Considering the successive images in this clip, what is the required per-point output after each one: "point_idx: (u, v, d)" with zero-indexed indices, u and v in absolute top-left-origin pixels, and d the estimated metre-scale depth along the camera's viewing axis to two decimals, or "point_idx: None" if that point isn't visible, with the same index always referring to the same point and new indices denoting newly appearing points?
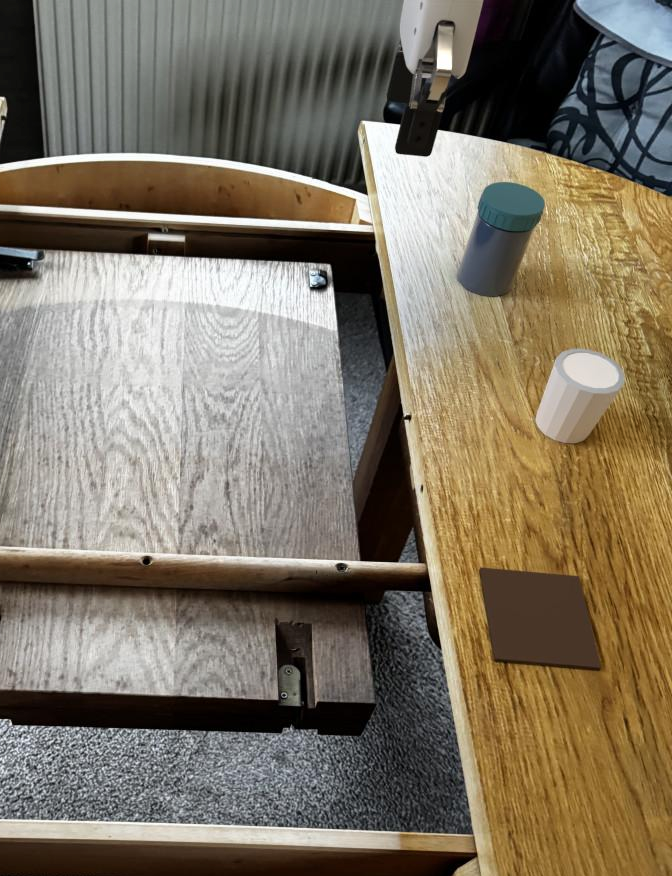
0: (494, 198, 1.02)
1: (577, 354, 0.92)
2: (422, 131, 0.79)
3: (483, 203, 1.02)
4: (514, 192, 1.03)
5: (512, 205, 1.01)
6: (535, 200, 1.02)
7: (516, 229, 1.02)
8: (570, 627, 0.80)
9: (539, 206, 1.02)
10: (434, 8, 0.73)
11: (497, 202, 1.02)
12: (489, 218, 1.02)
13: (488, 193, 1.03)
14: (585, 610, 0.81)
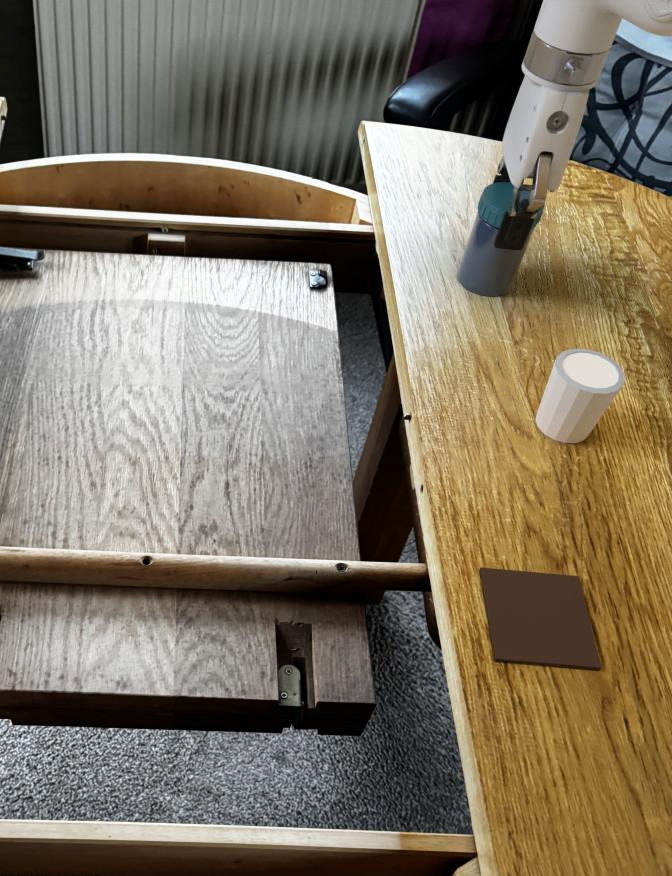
0: (494, 198, 1.02)
1: (577, 354, 0.92)
2: (517, 232, 1.01)
3: (483, 203, 1.02)
4: None
5: None
6: None
7: None
8: (570, 627, 0.80)
9: None
10: (538, 142, 0.93)
11: (497, 202, 1.02)
12: (489, 218, 1.02)
13: (488, 193, 1.03)
14: (585, 610, 0.81)
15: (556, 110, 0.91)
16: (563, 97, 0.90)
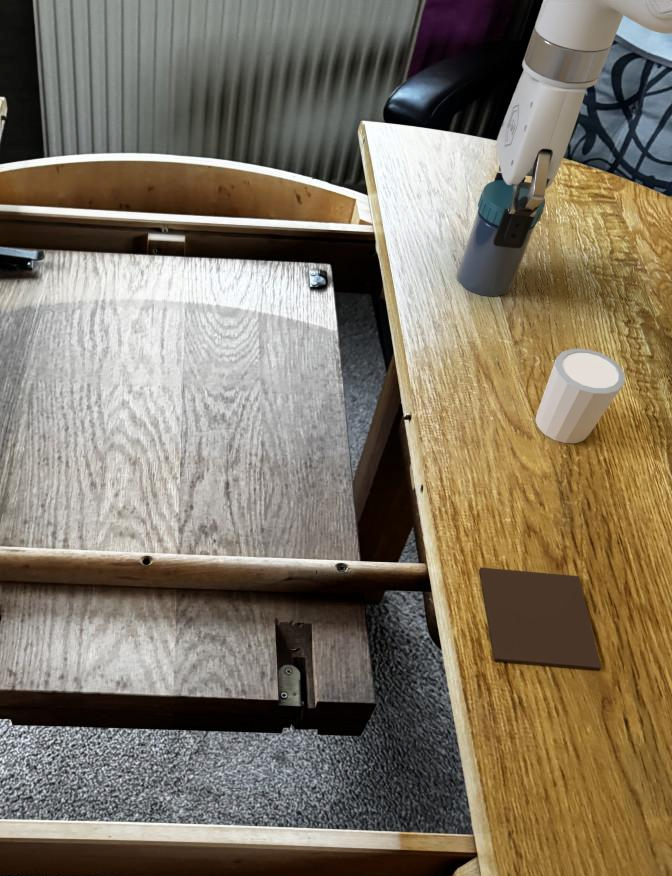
0: None
1: (577, 354, 0.92)
2: None
3: None
4: None
5: None
6: (492, 193, 1.02)
7: None
8: (570, 627, 0.80)
9: (489, 187, 1.03)
10: None
11: None
12: None
13: None
14: (585, 610, 0.81)
15: None
16: None
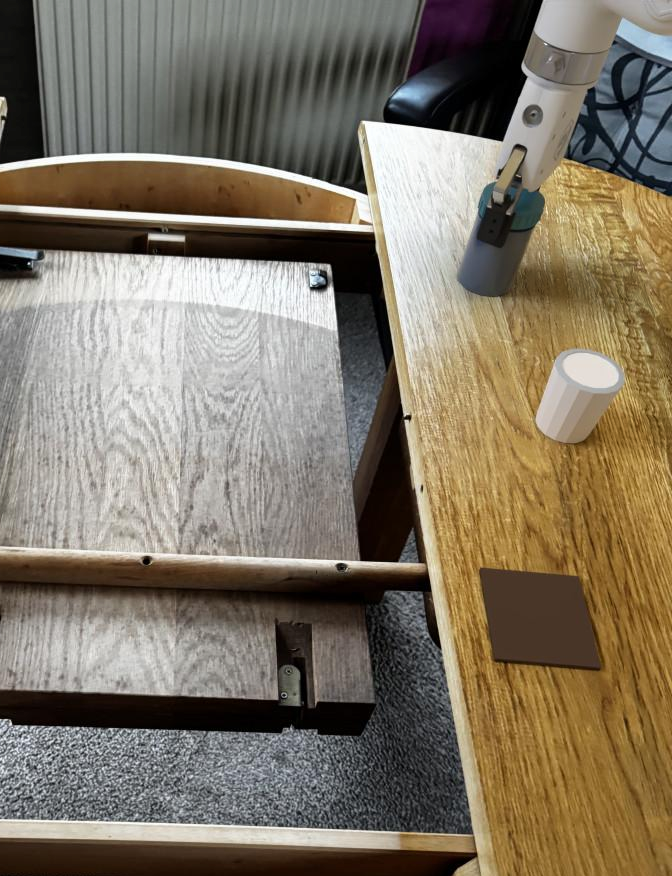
0: None
1: (577, 354, 0.92)
2: (494, 227, 1.01)
3: (482, 194, 1.03)
4: None
5: None
6: (534, 203, 1.02)
7: None
8: (570, 627, 0.80)
9: (532, 209, 1.01)
10: (513, 133, 0.93)
11: None
12: (480, 208, 1.03)
13: (492, 186, 1.03)
14: (585, 610, 0.81)
15: (532, 103, 0.91)
16: (539, 91, 0.90)
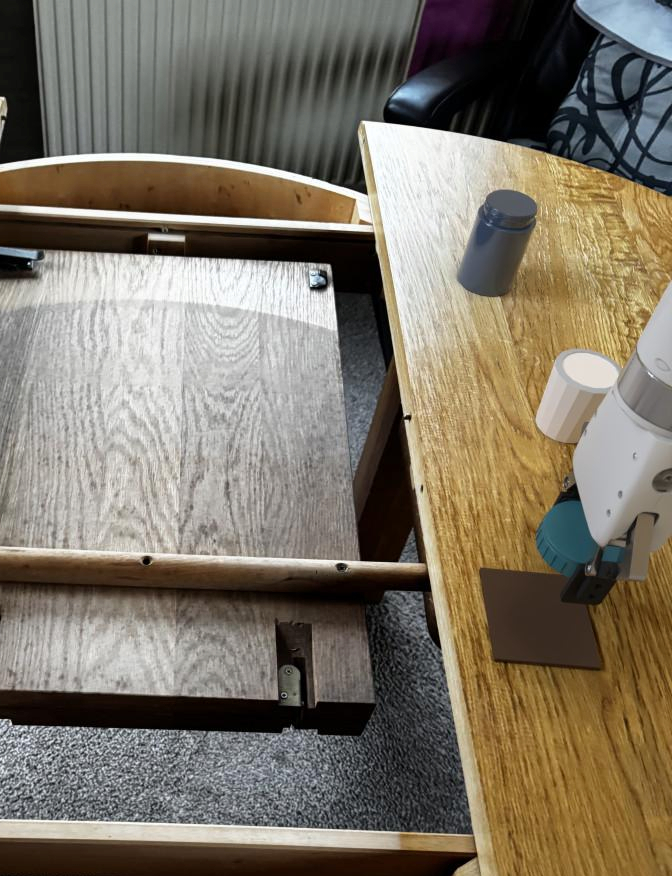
0: (560, 534, 0.71)
1: (577, 354, 0.92)
2: (596, 591, 0.70)
3: (544, 540, 0.72)
4: None
5: (587, 547, 0.71)
6: None
7: None
8: (570, 627, 0.80)
9: None
10: (637, 502, 0.62)
11: (565, 542, 0.71)
12: (553, 563, 0.71)
13: (551, 525, 0.72)
14: (585, 610, 0.81)
15: (669, 466, 0.60)
16: None
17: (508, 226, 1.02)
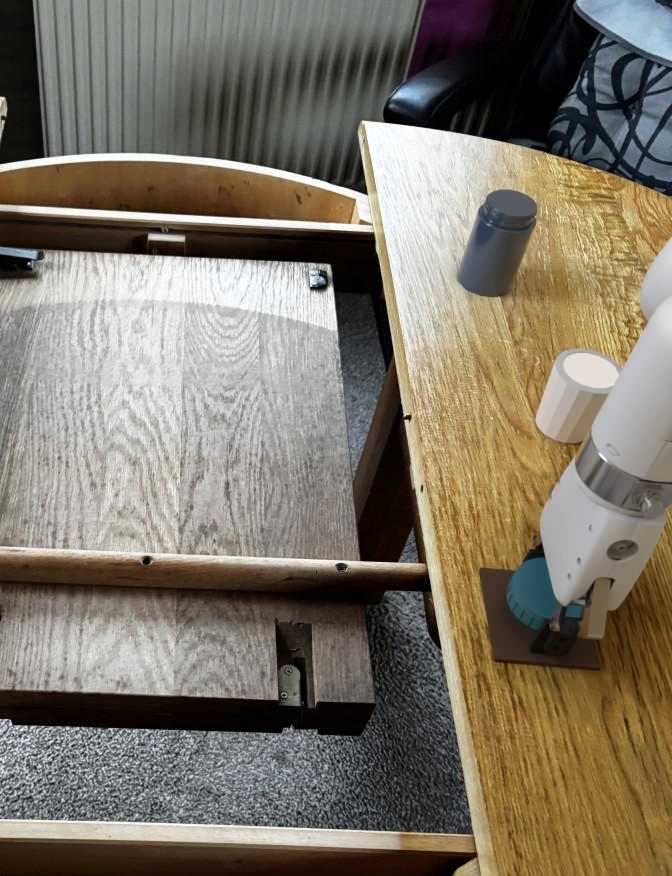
0: (528, 590, 0.77)
1: (577, 354, 0.92)
2: (561, 644, 0.76)
3: (514, 596, 0.77)
4: None
5: (553, 603, 0.76)
6: None
7: None
8: None
9: None
10: (594, 568, 0.68)
11: (532, 598, 0.77)
12: (522, 617, 0.77)
13: (520, 581, 0.78)
14: None
15: (621, 538, 0.65)
16: (632, 526, 0.65)
17: (508, 226, 1.02)
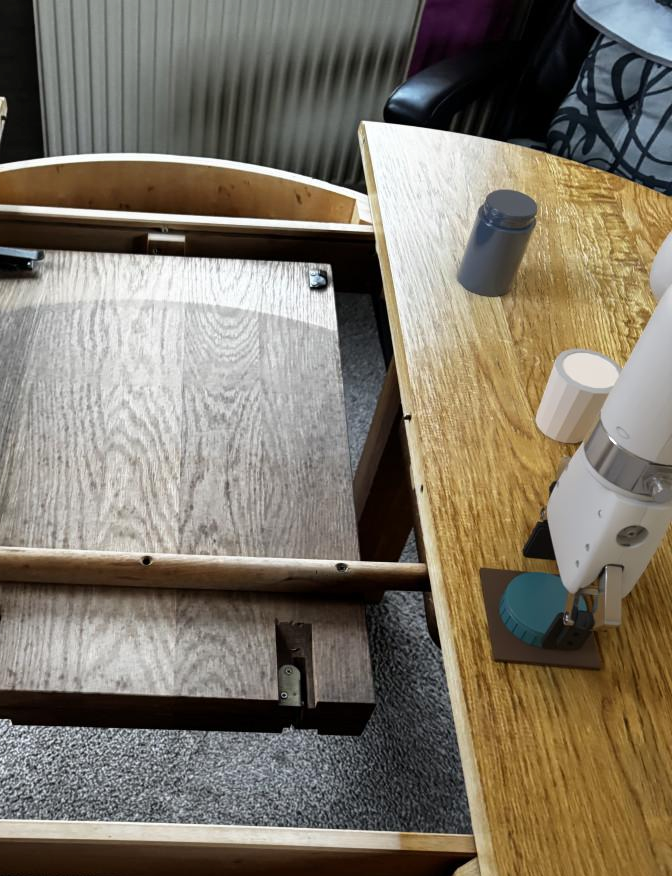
0: (521, 604, 0.78)
1: (577, 354, 0.92)
2: (575, 639, 0.73)
3: (507, 609, 0.79)
4: (547, 591, 0.80)
5: (545, 617, 0.78)
6: None
7: None
8: None
9: None
10: (603, 555, 0.67)
11: (525, 612, 0.78)
12: (515, 630, 0.78)
13: (513, 595, 0.79)
14: None
15: (631, 524, 0.64)
16: (642, 511, 0.63)
17: (508, 226, 1.02)
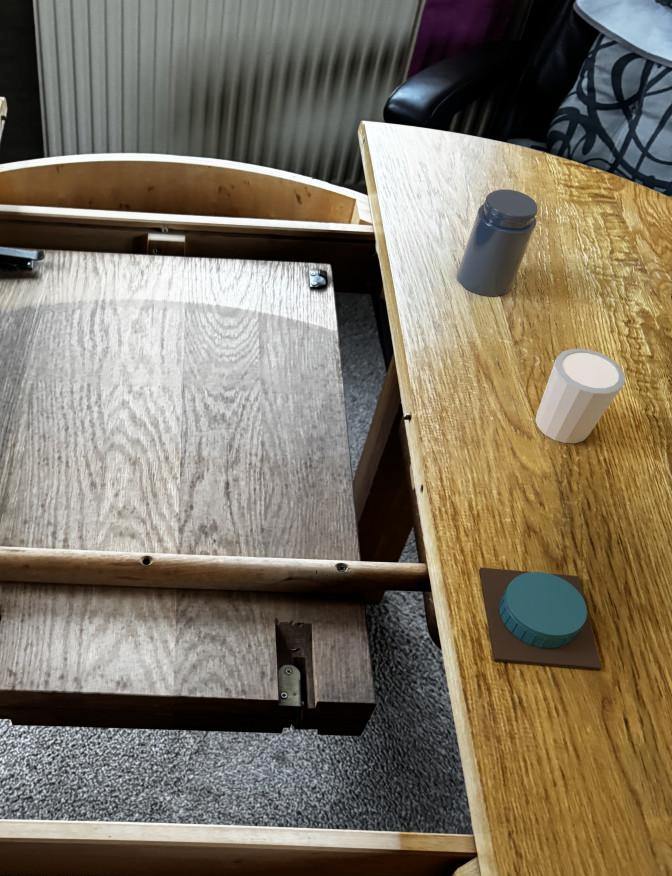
0: (521, 604, 0.78)
1: (577, 354, 0.92)
2: None
3: (507, 609, 0.79)
4: (547, 591, 0.80)
5: (545, 617, 0.78)
6: (574, 605, 0.79)
7: (550, 646, 0.78)
8: None
9: (580, 616, 0.78)
10: None
11: (525, 612, 0.78)
12: (515, 630, 0.78)
13: (513, 595, 0.79)
14: None
15: None
16: None
17: (508, 226, 1.02)
